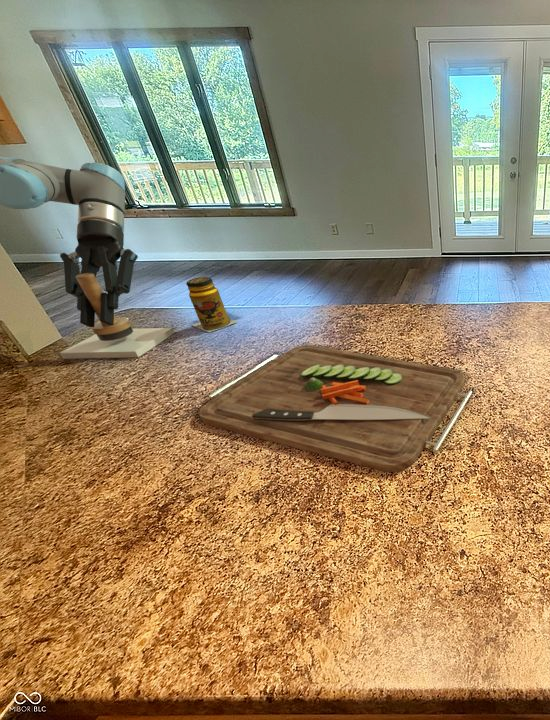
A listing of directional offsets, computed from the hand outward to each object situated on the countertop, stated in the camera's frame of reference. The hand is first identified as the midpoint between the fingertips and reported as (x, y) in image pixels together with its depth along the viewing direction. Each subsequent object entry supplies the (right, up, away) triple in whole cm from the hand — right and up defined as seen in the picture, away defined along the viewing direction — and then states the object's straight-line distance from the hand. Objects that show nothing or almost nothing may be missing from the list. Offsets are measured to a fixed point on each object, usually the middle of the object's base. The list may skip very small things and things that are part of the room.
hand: (97, 323), depth 81 cm
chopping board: (+57, -15, -12) cm, 60 cm away
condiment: (+14, +1, +17) cm, 22 cm away
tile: (-1, -4, +7) cm, 8 cm away
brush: (-1, -2, +5) cm, 6 cm away
